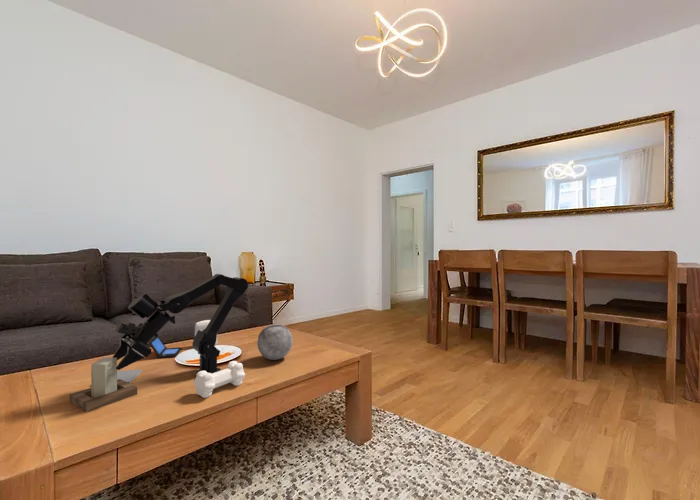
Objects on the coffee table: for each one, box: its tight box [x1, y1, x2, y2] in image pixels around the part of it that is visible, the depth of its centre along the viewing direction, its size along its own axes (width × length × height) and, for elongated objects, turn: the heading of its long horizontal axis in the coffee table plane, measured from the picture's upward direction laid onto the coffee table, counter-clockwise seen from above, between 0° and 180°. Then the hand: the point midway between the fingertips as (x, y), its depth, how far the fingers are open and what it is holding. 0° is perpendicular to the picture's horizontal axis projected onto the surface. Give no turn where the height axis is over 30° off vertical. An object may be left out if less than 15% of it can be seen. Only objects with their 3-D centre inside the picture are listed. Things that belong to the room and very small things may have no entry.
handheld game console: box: [148, 335, 183, 360], centre depth 151 cm, size 12×11×7 cm
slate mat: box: [117, 368, 143, 384], centre depth 124 cm, size 12×12×1 cm
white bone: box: [193, 360, 246, 399], centre depth 115 cm, size 15×9×8 cm, turn 144°
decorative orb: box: [256, 323, 294, 361], centre depth 145 cm, size 15×14×15 cm
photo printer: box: [194, 319, 218, 346], centre depth 164 cm, size 10×4×12 cm, turn 123°
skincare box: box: [90, 357, 118, 398], centre depth 108 cm, size 6×4×12 cm
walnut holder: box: [69, 379, 138, 413], centre depth 108 cm, size 12×14×2 cm
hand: (114, 365), depth 110 cm, fingers open, 9 cm apart
